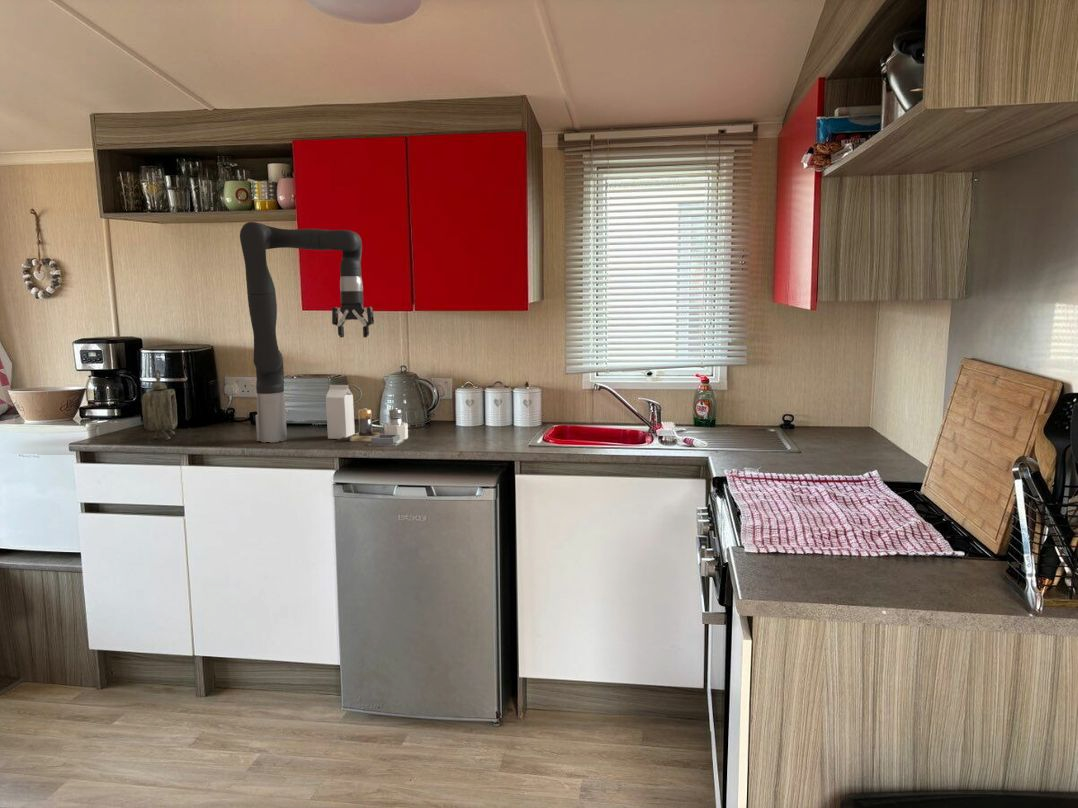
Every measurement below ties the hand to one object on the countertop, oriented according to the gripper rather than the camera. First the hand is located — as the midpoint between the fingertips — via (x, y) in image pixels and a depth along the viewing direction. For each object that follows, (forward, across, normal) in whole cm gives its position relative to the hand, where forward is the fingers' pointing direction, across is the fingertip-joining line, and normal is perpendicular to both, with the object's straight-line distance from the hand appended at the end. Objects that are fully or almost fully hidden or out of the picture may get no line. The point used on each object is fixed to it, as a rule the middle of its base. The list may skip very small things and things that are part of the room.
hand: (353, 337), depth 271 cm
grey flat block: (+36, +14, -10) cm, 40 cm away
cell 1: (+35, +4, -3) cm, 35 cm away
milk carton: (+36, -8, +4) cm, 37 cm away
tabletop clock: (+36, -73, -4) cm, 82 cm away
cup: (+36, +14, 0) cm, 39 cm away
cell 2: (+35, +14, 0) cm, 38 cm away
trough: (+36, +4, -3) cm, 36 cm away
